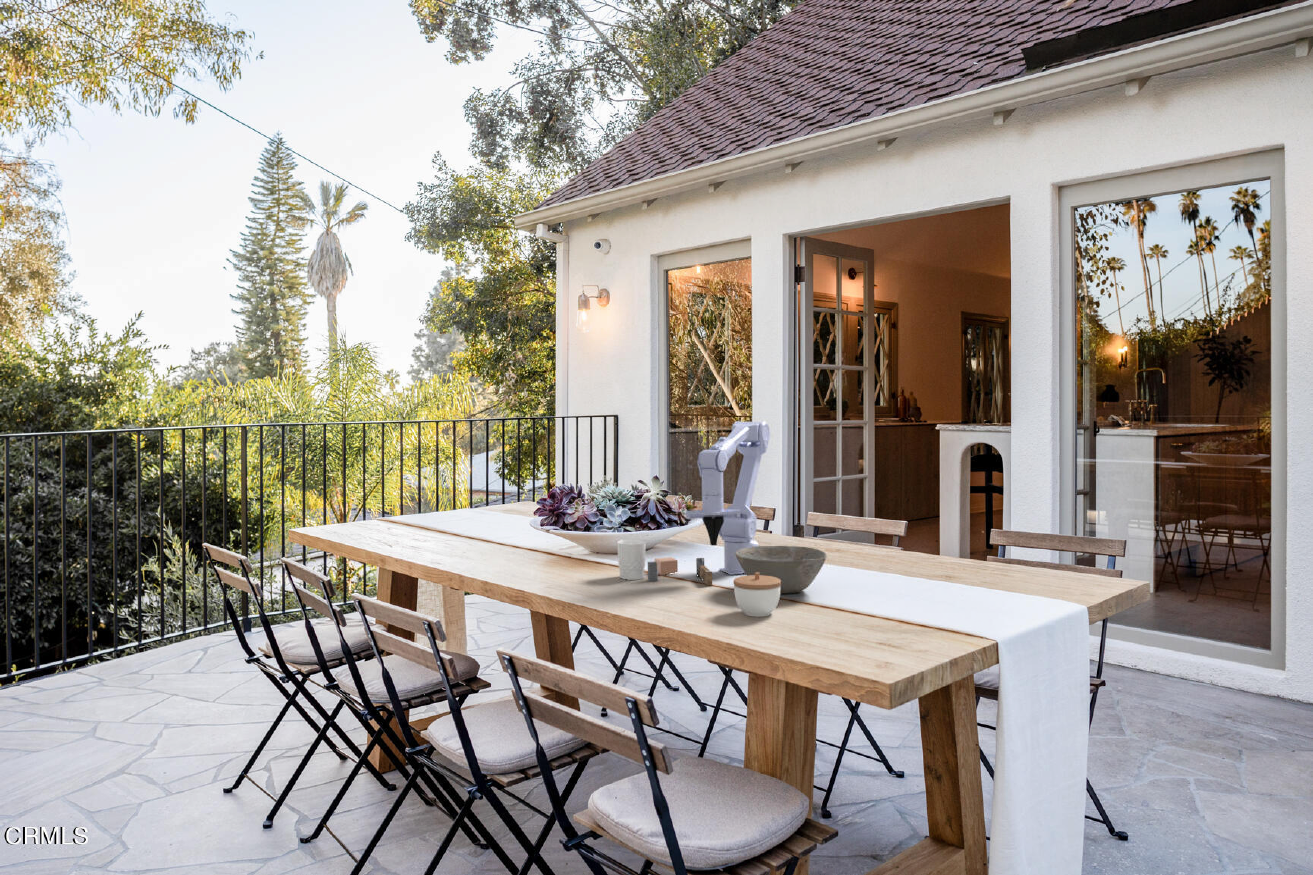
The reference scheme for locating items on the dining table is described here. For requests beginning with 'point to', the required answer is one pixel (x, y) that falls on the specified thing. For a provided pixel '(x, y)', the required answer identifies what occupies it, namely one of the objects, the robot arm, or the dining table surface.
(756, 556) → the ceramic bowl
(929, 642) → the dining table surface
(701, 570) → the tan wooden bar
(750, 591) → the lidded jar
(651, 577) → the grey blocks
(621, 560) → the white cup
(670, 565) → the block
